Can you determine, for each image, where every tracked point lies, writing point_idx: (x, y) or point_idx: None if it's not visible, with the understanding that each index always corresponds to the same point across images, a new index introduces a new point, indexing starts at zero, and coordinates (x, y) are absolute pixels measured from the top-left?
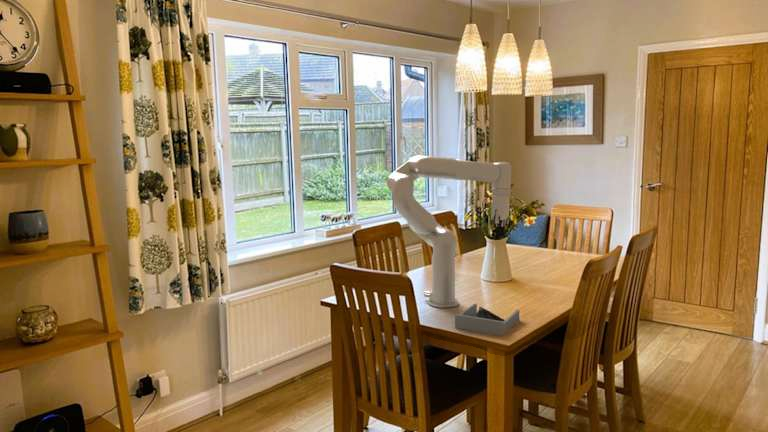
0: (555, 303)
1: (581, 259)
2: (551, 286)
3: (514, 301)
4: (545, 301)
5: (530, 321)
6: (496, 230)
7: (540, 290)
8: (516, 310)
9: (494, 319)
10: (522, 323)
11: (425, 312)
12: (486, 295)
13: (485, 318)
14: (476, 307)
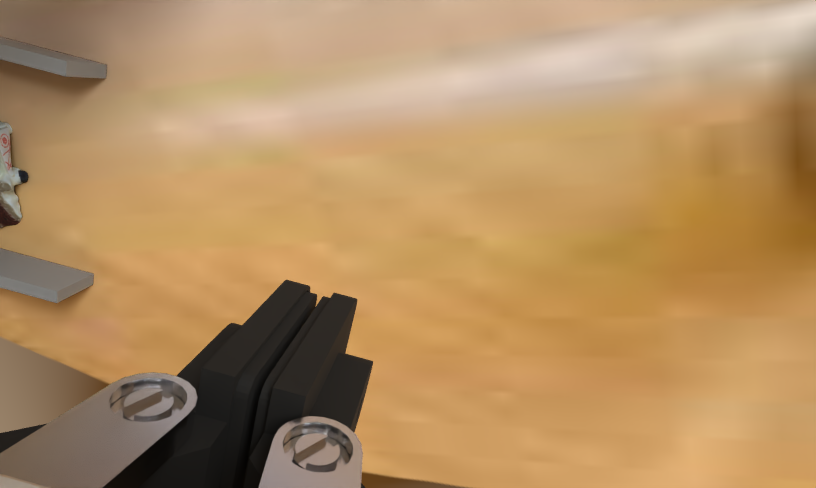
0: (388, 435)
1: None
2: (708, 436)
3: (373, 254)
4: (410, 395)
5: (98, 328)
6: (249, 318)
7: (615, 380)
8: (44, 290)
9: (15, 181)
10: None
11: None
12: (456, 89)
13: (7, 138)
14: (77, 76)
